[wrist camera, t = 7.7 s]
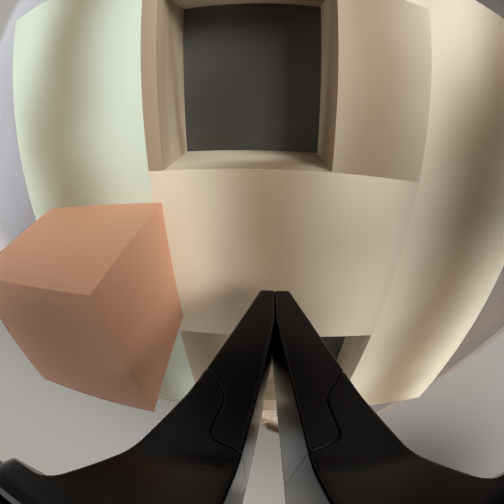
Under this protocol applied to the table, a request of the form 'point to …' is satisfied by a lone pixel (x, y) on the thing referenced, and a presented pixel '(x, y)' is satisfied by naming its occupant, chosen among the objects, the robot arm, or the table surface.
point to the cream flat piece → (285, 162)
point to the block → (94, 299)
